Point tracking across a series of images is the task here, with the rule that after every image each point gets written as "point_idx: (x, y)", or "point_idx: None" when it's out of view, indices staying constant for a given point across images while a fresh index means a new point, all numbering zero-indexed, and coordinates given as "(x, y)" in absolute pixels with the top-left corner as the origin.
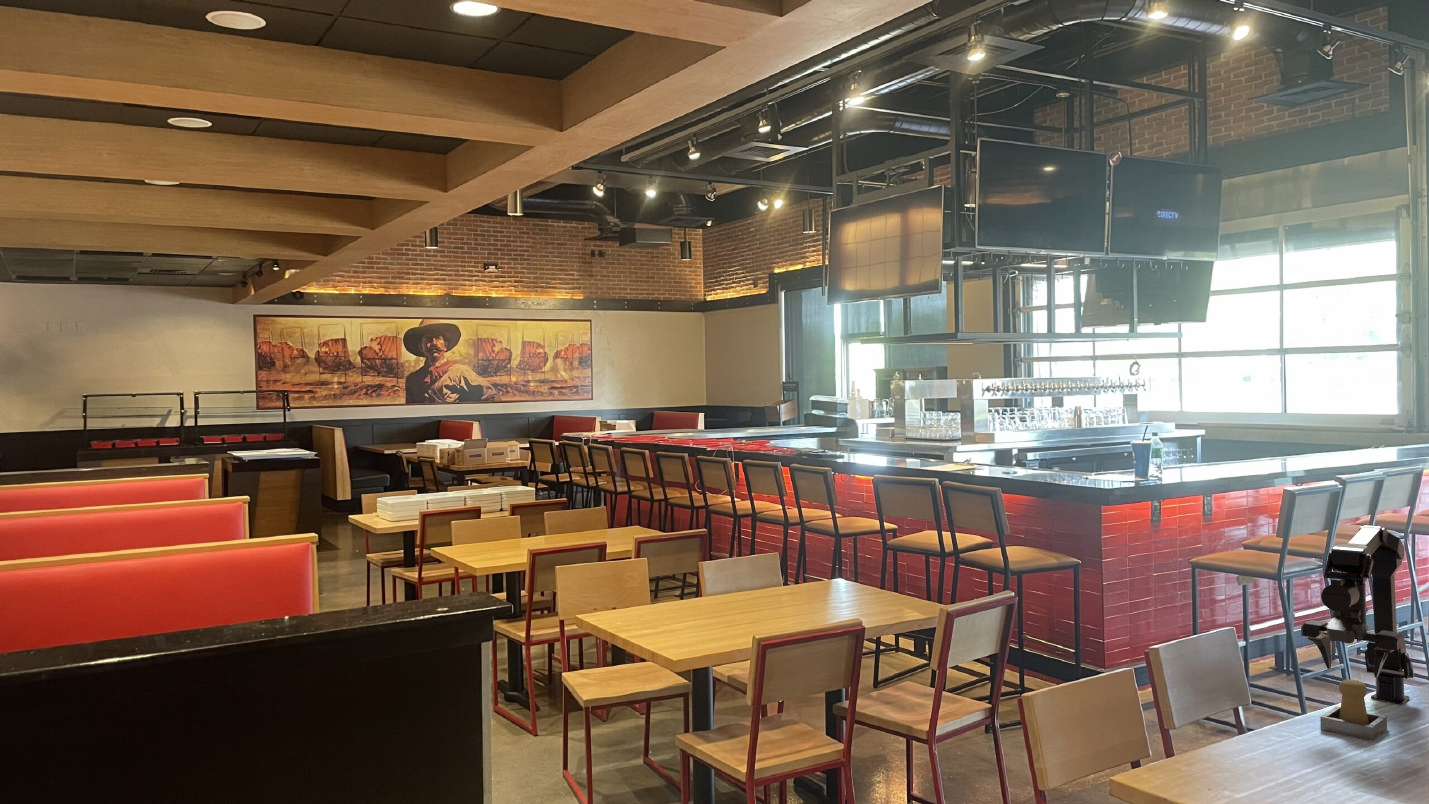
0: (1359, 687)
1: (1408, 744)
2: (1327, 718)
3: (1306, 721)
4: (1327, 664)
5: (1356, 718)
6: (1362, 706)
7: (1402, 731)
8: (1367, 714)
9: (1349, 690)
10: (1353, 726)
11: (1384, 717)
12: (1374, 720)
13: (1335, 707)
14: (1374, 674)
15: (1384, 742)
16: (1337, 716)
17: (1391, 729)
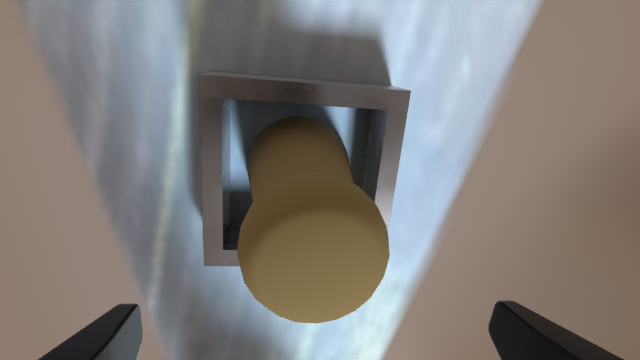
0: (263, 219)
1: (102, 127)
2: (381, 88)
3: (446, 154)
4: (536, 321)
5: (279, 142)
6: (259, 187)
7: (172, 255)
8: None
9: (316, 177)
10: (276, 79)
11: (206, 248)
12: None
13: None
14: (123, 317)
15: (173, 92)
16: None
17: None
